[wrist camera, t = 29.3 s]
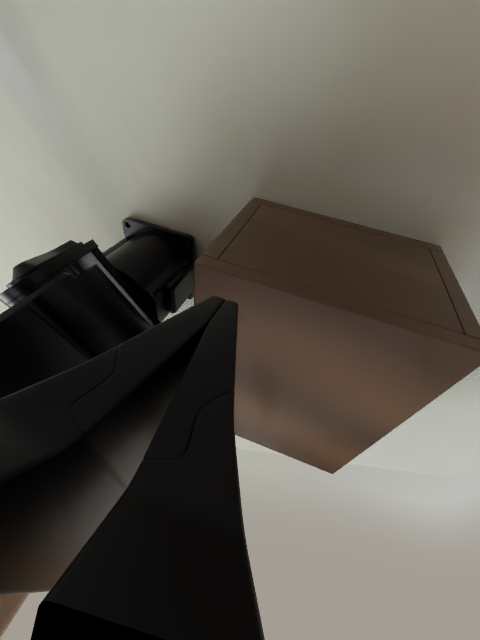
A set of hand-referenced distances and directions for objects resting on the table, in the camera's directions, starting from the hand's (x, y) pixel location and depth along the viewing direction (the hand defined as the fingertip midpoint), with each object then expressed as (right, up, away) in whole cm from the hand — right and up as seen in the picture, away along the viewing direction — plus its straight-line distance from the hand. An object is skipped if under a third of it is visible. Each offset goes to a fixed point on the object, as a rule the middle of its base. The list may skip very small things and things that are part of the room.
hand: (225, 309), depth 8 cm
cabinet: (+6, +1, +14) cm, 15 cm away
